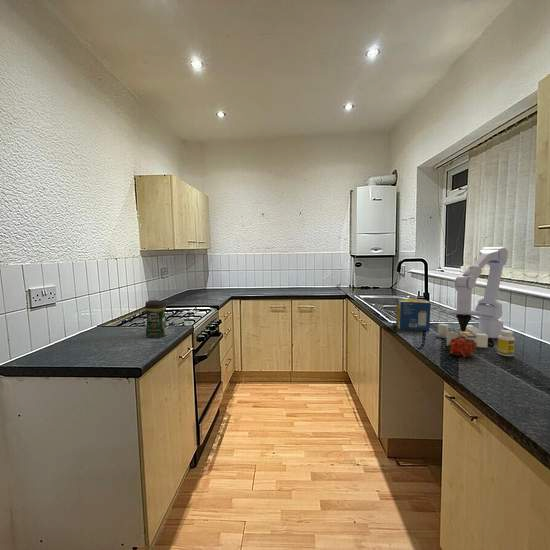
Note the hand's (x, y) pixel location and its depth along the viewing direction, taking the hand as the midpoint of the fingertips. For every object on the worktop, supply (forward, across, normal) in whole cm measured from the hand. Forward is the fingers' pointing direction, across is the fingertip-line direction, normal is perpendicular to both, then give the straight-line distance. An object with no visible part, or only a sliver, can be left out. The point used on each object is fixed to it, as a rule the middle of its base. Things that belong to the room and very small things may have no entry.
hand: (462, 330), depth 143 cm
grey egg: (+5, -6, -8) cm, 11 cm away
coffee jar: (+5, -147, -24) cm, 149 cm away
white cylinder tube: (+5, -6, +7) cm, 11 cm away
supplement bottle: (+6, +11, -15) cm, 20 cm away
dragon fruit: (+6, -7, -21) cm, 23 cm away
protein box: (+6, -18, +22) cm, 29 cm away
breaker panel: (+5, +4, +2) cm, 7 cm away
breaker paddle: (+2, +1, 0) cm, 2 cm away
